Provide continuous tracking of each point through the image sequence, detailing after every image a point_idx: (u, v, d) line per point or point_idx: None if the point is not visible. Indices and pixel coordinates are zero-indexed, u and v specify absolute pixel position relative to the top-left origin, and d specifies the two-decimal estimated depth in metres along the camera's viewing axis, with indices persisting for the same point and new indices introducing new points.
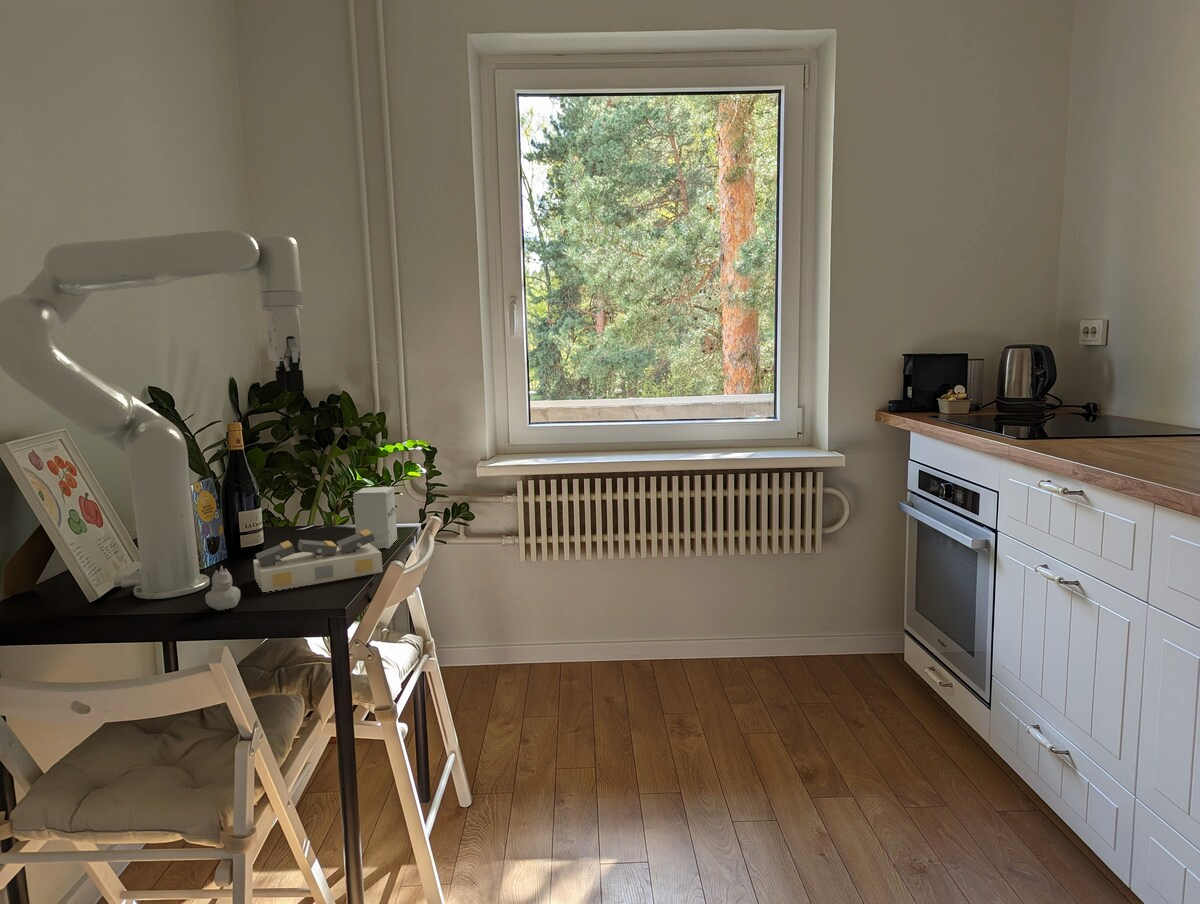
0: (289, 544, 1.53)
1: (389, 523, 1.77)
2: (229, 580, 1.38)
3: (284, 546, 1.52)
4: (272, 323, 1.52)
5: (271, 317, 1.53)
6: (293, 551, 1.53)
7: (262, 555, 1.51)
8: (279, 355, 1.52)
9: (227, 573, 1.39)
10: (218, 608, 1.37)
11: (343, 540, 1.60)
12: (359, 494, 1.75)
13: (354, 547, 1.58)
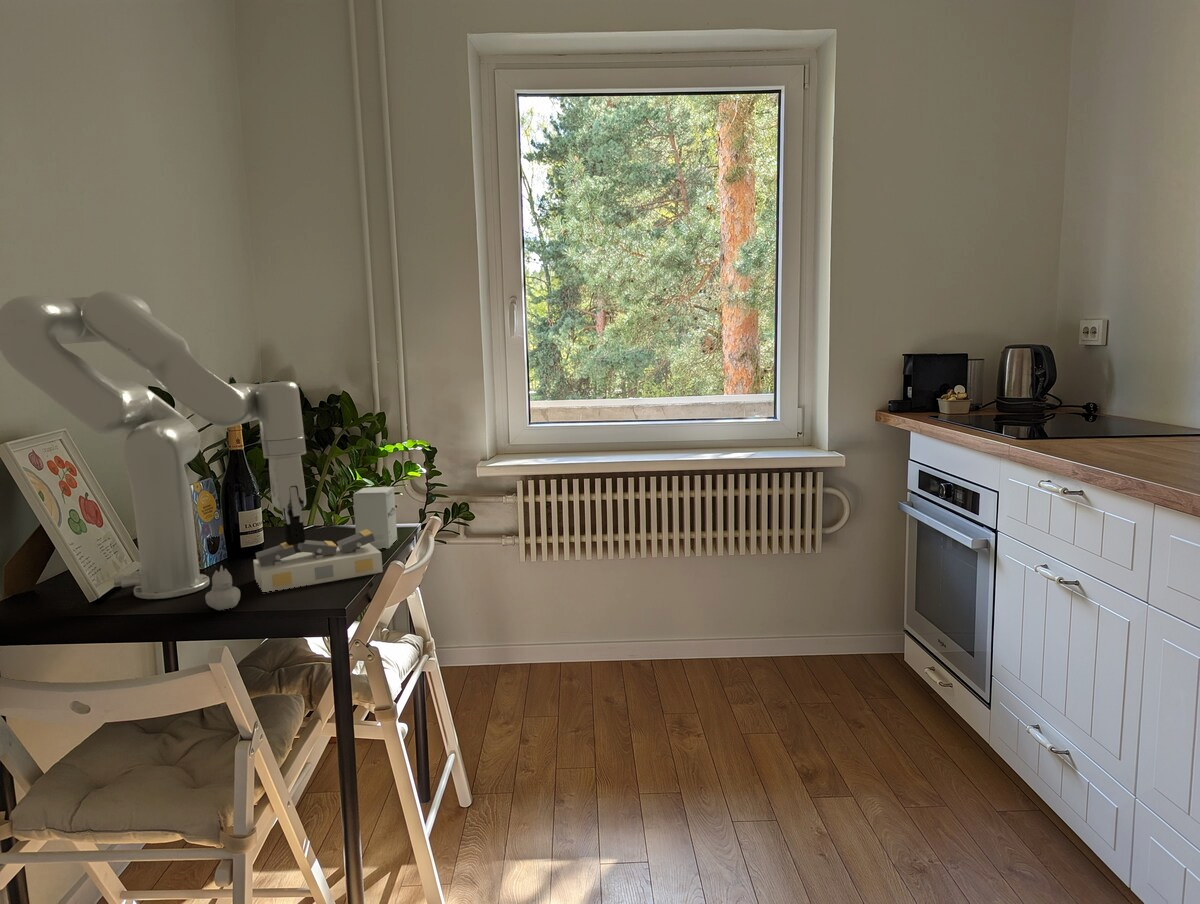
0: (290, 545, 1.53)
1: (389, 523, 1.77)
2: (229, 580, 1.38)
3: (285, 546, 1.52)
4: (274, 473, 1.48)
5: (273, 466, 1.48)
6: (293, 552, 1.53)
7: (262, 554, 1.51)
8: (282, 506, 1.48)
9: (227, 573, 1.39)
10: (218, 608, 1.37)
11: (343, 540, 1.60)
12: (359, 494, 1.75)
13: (354, 547, 1.58)
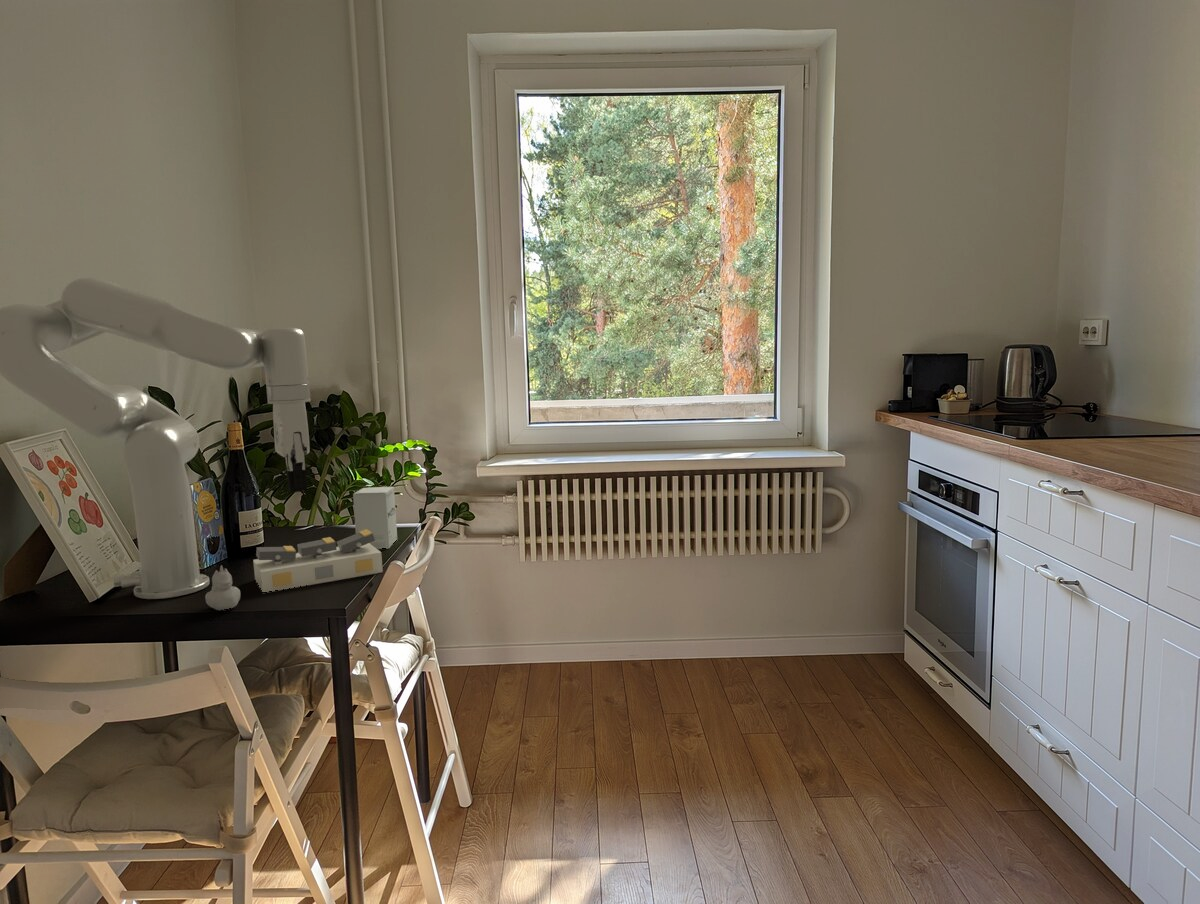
0: (293, 549, 1.53)
1: (389, 523, 1.77)
2: (229, 580, 1.38)
3: (287, 549, 1.53)
4: (278, 418, 1.48)
5: (277, 412, 1.48)
6: (294, 557, 1.53)
7: (264, 550, 1.51)
8: (285, 452, 1.47)
9: (227, 573, 1.39)
10: (218, 608, 1.37)
11: (343, 540, 1.60)
12: (359, 494, 1.75)
13: (354, 547, 1.58)
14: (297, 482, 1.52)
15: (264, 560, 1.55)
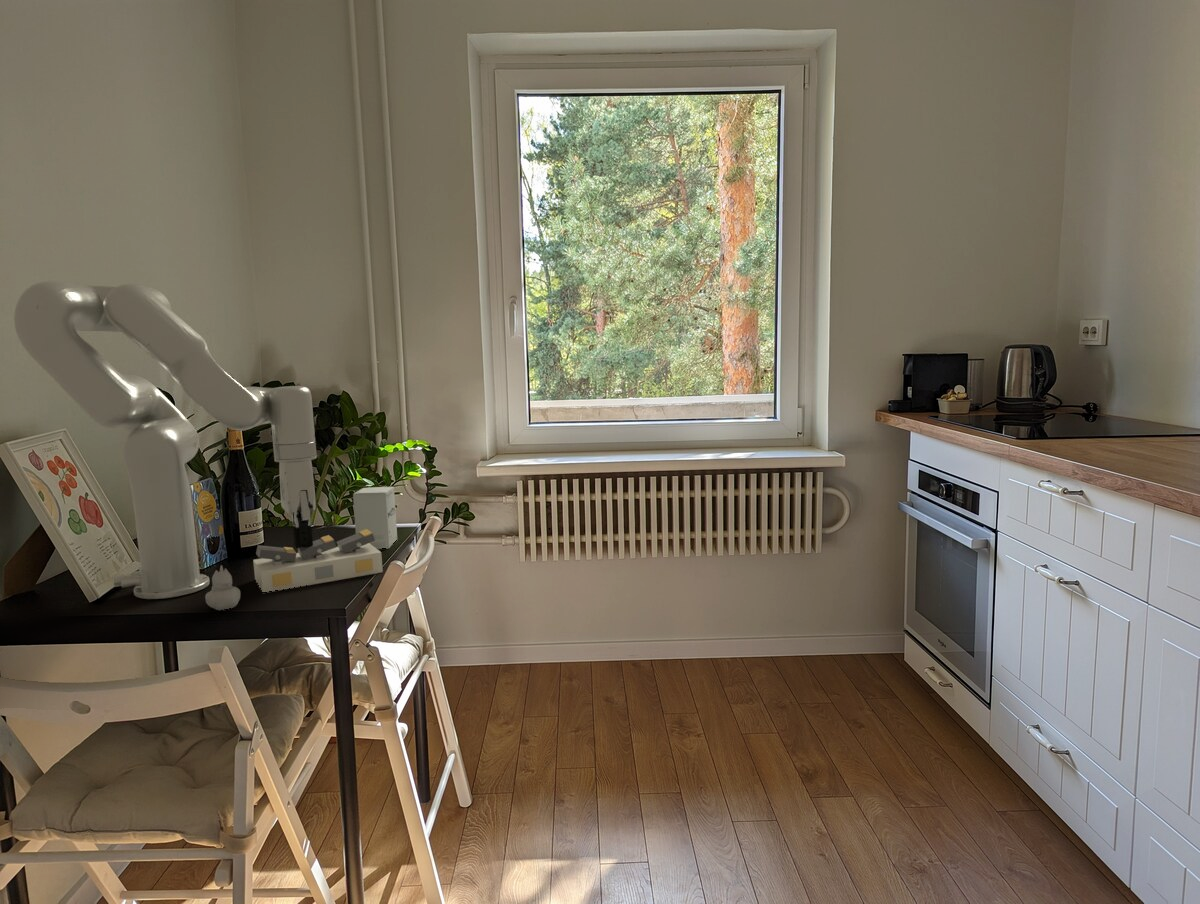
0: (293, 551, 1.53)
1: (389, 523, 1.77)
2: (229, 580, 1.38)
3: (288, 550, 1.53)
4: (285, 477, 1.49)
5: (284, 470, 1.50)
6: (293, 559, 1.53)
7: (265, 549, 1.51)
8: (292, 510, 1.49)
9: (227, 573, 1.39)
10: (218, 608, 1.37)
11: (343, 540, 1.60)
12: (359, 494, 1.75)
13: (354, 547, 1.58)
14: (303, 538, 1.54)
15: (264, 560, 1.55)
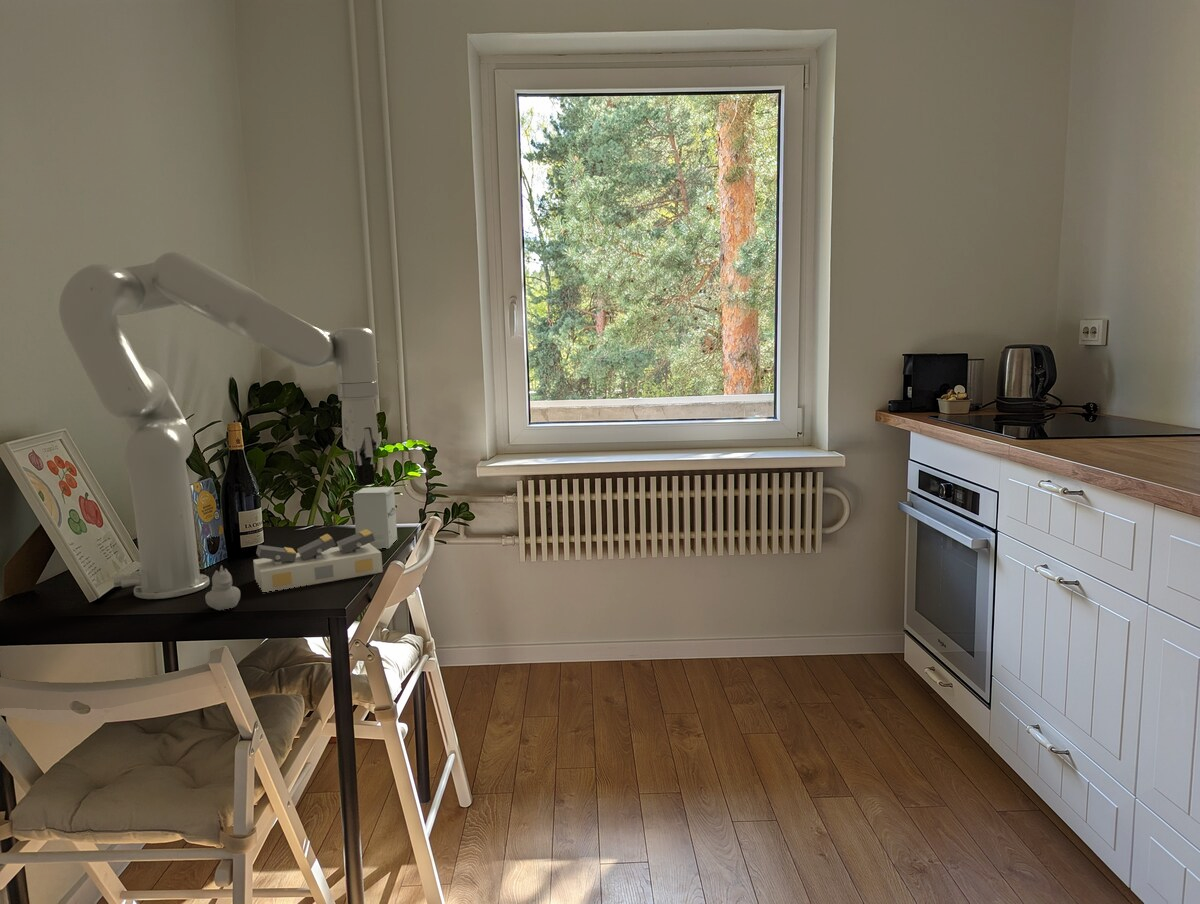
0: (293, 551, 1.53)
1: (389, 523, 1.77)
2: (229, 580, 1.38)
3: (288, 551, 1.53)
4: (349, 414, 1.54)
5: (348, 408, 1.54)
6: (293, 559, 1.53)
7: (265, 548, 1.51)
8: (357, 446, 1.54)
9: (227, 573, 1.39)
10: (218, 608, 1.37)
11: (343, 540, 1.60)
12: (359, 494, 1.75)
13: (354, 547, 1.58)
14: (365, 476, 1.59)
15: (264, 560, 1.55)
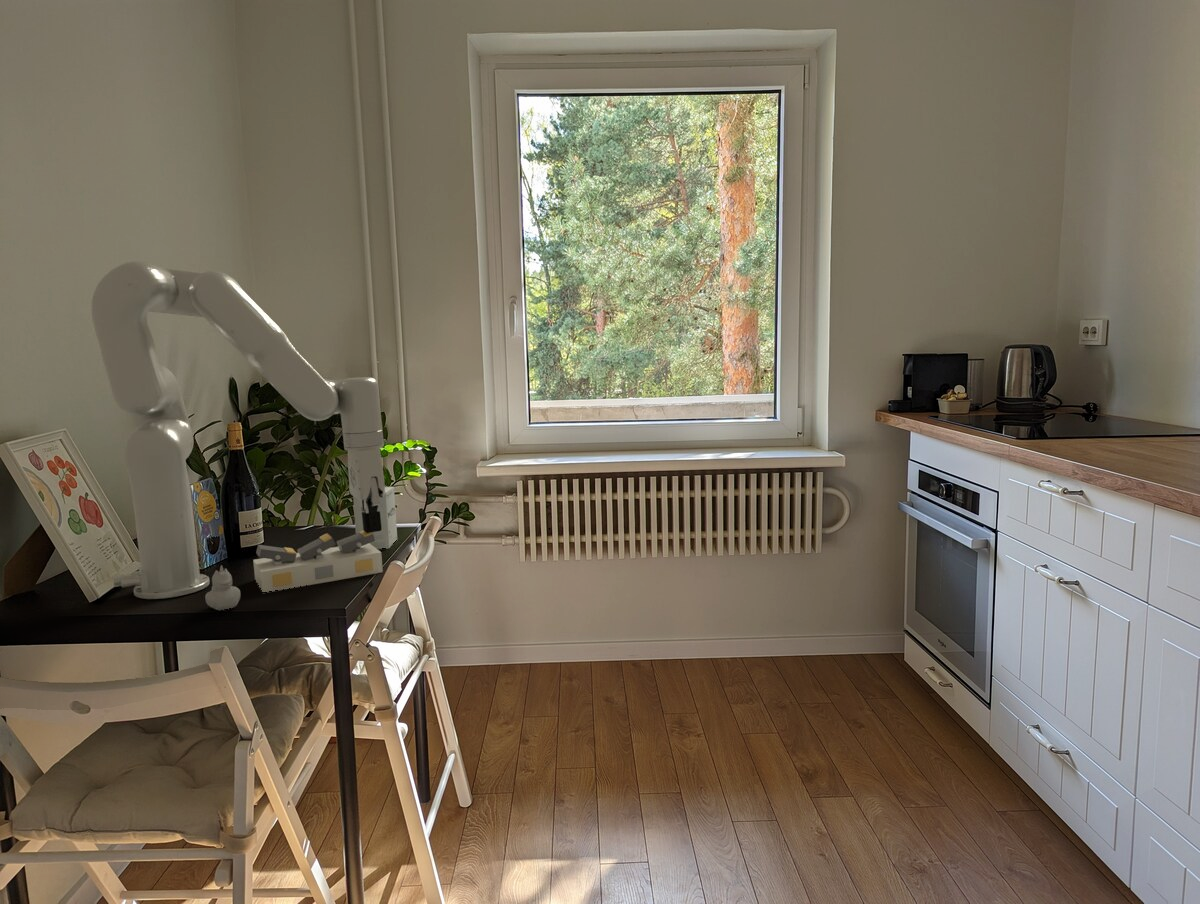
0: (293, 551, 1.53)
1: (389, 523, 1.77)
2: (229, 580, 1.38)
3: (288, 551, 1.53)
4: (356, 464, 1.56)
5: (354, 458, 1.56)
6: (293, 559, 1.53)
7: (265, 548, 1.51)
8: (363, 496, 1.55)
9: (227, 573, 1.39)
10: (218, 608, 1.37)
11: (343, 540, 1.60)
12: None
13: (354, 547, 1.58)
14: (372, 523, 1.60)
15: (264, 560, 1.55)
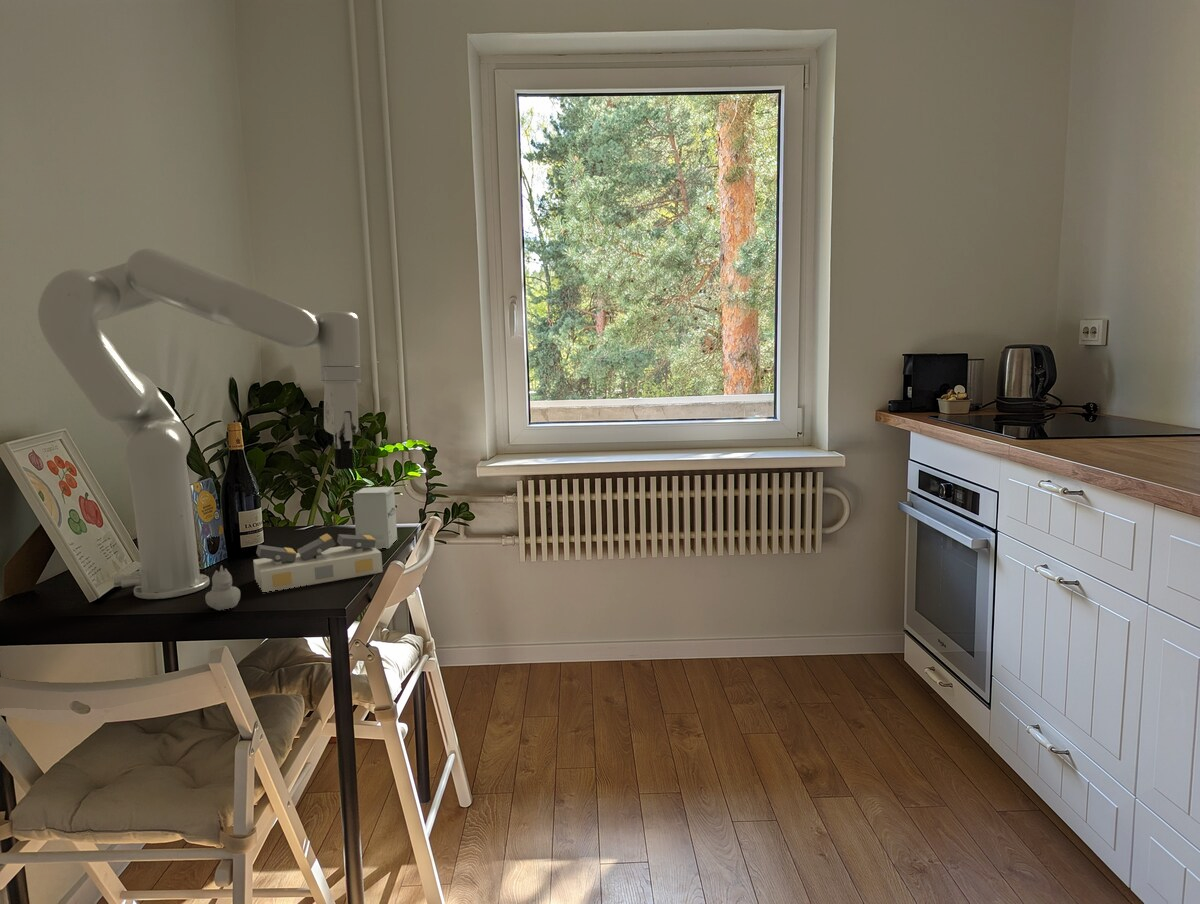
0: (293, 551, 1.53)
1: (389, 523, 1.77)
2: (229, 580, 1.38)
3: (288, 551, 1.53)
4: (330, 397, 1.54)
5: (330, 391, 1.55)
6: (293, 559, 1.53)
7: (265, 548, 1.51)
8: (336, 429, 1.54)
9: (227, 573, 1.39)
10: (218, 608, 1.37)
11: (345, 535, 1.60)
12: (359, 494, 1.75)
13: (353, 545, 1.58)
14: (344, 460, 1.59)
15: (264, 560, 1.55)
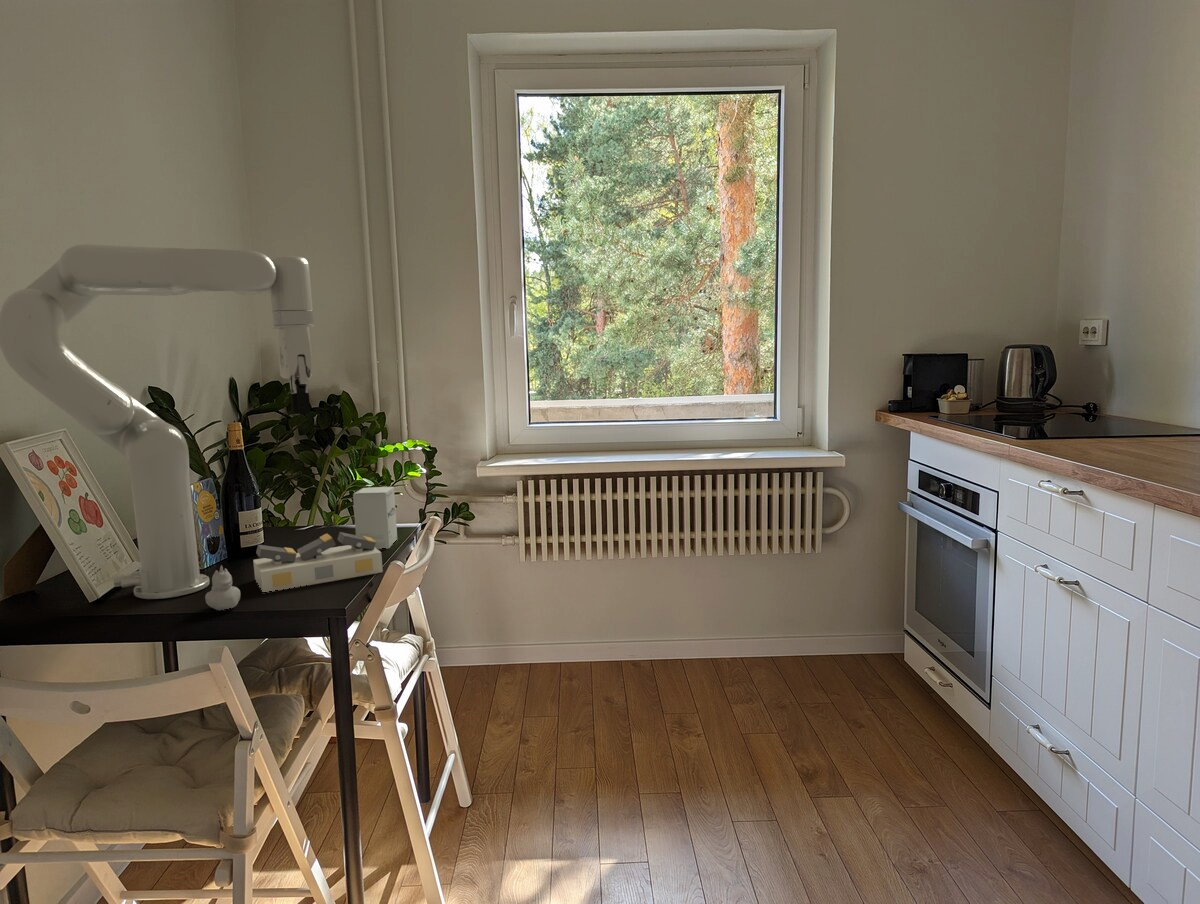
0: (293, 551, 1.53)
1: (389, 523, 1.77)
2: (229, 580, 1.38)
3: (288, 551, 1.53)
4: (283, 341, 1.56)
5: (282, 336, 1.56)
6: (293, 559, 1.53)
7: (265, 548, 1.51)
8: (290, 373, 1.56)
9: (227, 573, 1.39)
10: (218, 608, 1.37)
11: (346, 534, 1.60)
12: (359, 494, 1.75)
13: (353, 544, 1.58)
14: (300, 404, 1.61)
15: (264, 560, 1.55)
